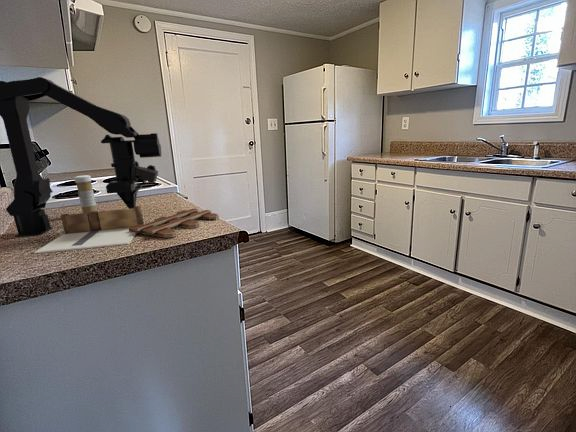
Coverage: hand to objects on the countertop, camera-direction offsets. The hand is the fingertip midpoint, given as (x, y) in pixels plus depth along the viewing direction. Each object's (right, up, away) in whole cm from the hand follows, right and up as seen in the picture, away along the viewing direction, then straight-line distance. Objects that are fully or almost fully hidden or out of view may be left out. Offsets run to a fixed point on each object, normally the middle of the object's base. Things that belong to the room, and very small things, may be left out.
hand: (133, 211), depth 93 cm
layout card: (-4, -7, -12) cm, 14 cm away
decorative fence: (+15, -4, -4) cm, 16 cm away
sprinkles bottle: (-21, -1, +13) cm, 25 cm away
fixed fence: (-10, -6, -7) cm, 14 cm away
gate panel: (0, -5, -6) cm, 7 cm away
